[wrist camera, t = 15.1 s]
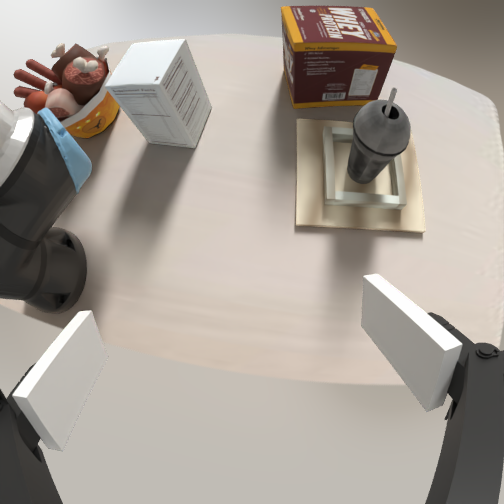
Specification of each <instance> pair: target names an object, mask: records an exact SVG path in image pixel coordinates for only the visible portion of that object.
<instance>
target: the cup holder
mask: <svg viewBox="0 0 504 504" xmlns="http://www.w3.org/2000/svg"><path fill="white" fill-rule="evenodd" d="M352 140H353V122H344V121H332V120H317V119H297V191H296V226H309V227H331V228H350V229H368V230H385V231H401V232H415V233H424V232H425V231H426V230H425V218H424V208H423V198H422V190H421V183H420V176H419V169H418V163H417V157H416V151H415V146H414V141H413V136H412V131H411V132H410V139H409V143H408V145H407V148H406V150H404V151H403V152H402V153H401V154H399V155H398V156H396V157H395V158H394V159H392V160H391V161H390V163H389V164H388V165H387V166H386V167H385V168H384V169H383V170H382V171H381V172H380V173H379V175H378V176H377V177H376V178H374V179H373V180H372V181H371V182H370V183H367V184H360V183H357V182H355V181H353V180H352V179H351V178H350V176H349V174H348V171H347V166H348V159H349V154H350V150H351V145H352Z"/></svg>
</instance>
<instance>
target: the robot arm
mask: <svg viewBox="0 0 504 504" xmlns="http://www.w3.org/2000/svg"><path fill="white" fill-rule="evenodd" d="M91 171H92V163H91V161H90V159H89V158H88V156H87V155H86V154H85V152H84V151H83V150H82V149H81V147H80V146H79V145H78V144H77V142H76V141H75V140H74V139H73V137H72V136H71V135H70V134H69V133H68V132H67V131H66V129H65V128H64V127H63V125H62V124H61V123H60V122H59V120H58V119H57V118H56V117H55V115H54V114H53V113H52V112H51V111H50V110H49V109H48V108H43V109H42V110H40V111H38V113H37V114H35V113H34V112H33V111H32V110H31V109H30V108H26V107H25V108H20V109H17V110H13V111H12V110H10V109H9V108H8V107H7V106H6V105H5V104H3V103H2V102H1V101H0V298H3V299H14V300H23V301H25V302H26V303H28V304H30V305H31V306H33V307H35V308H37V309H38V310H40V311H42V312H46V313H62V312H64V311H66V310H68V309H69V308H71V307H72V306H73V305H74V304H75V302H76V301H77V300H78V298H79V296H80V294H81V292H82V290H83V287H84V283H85V279H86V268H87V267H86V256H85V252H84V249H83V246H82V244H81V242H80V241H79V239H78V238H77V237H76V236H75V235H74V234H73V233H71V232H69V231H67V230H64V229H62V228H57V227H52V225H53V224H54V223H55V221H56V220H57V219H58V217H59V216H60V214H61V213H62V212H63V210H64V209H65V208H66V207H67V205H68V204H69V203H70V201H71V200H72V199H73V198H74V196H75V195H76V194H78V192H79V189H80V188H81V186H82V185H83V184H84V182H85V181H86V180H87V178H88V177H89V176H90V174H91ZM361 326H362V328H363V329H364V330H365V331H366V333H367V334H368V335H369V337H370V338H371V339H372V340H373V342H374V343H375V344H376V346H377V347H378V348H379V349H380V351H381V352H382V353H383V355H384V356H385V357H386V358H387V360H388V361H389V362H390V364H391V365H392V366H393V368H394V369H395V370H396V372H397V373H398V374H399V375H400V377H401V378H402V379H403V381H404V382H405V383H406V385H407V386H408V387H409V389H410V390H411V391H412V393H413V394H414V395H415V397H416V398H417V400H418V401H419V402H420V404H421V405H422V406H423V408H424V409H425V410H426V412H428V411H431V410H433V409H435V408H437V407H439V406H442V405H443V404H444V401H445V399H446V396H447V393H448V394H449V395H450V396H451V397H452V399H453V400H452V402H451V405H450V408H449V410H448V412H447V415H446V417H445V420H447V419H448V421H447V427H446V431H445V436H444V441H443V445H442V449H441V453H440V457H439V461H438V465H437V468H436V472H435V475H434V479H433V482H432V485H431V488H430V491H429V494H428V497H427V500H426V503H425V504H498V499H499V493H500V487H501V479H502V471H503V460H504V351H500V350H499V349H498V348H497V347H495V346H493V345H492V344H488V343H477V344H474V343H473V342H472V341H470V340H469V339H468V338H467V337H466V336H465V335H463V334H462V333H461V332H460V331H458V330H457V329H455V327H454V326H452V325H451V324H449V322H448V321H446V320H445V319H444V318H443V317H441V316H439V315H436V314H434V313H432V312H431V313H426V312H425V311H423V310H422V309H421V308H420V307H418V306H417V305H416V304H415V303H414V302H412V301H411V300H410V299H409V298H407V297H406V296H405V295H404V294H402V293H401V292H400V291H399V290H397V289H396V288H395V287H394V286H392V285H391V284H390V283H389V282H387V281H386V280H385V279H384V278H382V277H381V276H380V275H378V274H371V275H366V276H363V298H362V319H361ZM107 359H108V354H107V352H106V349H105V347H104V344H103V341H102V338H101V336H100V333H99V330H98V327H97V324H96V321H95V319H94V316H93V312H92V310H90V311H79V312H78V313H77V315H76V316H75V317H74V318H73V319H72V320H71V321H70V323H69V324H68V325H67V326H66V327H65V328H64V330H63V331H62V332H61V333H60V334H59V336H58V337H57V338H56V339H55V341H54V342H53V343H52V344H51V345H50V347H49V348H48V349H47V350H46V351H45V353H44V354H43V355H42V356H41V358H40V359H39V360H38V362H37V363H35V364H34V365H32V366H31V367H30V368H29V369H28V371H27V372H26V373H25V376H23V377H22V378H21V380H20V382H18V384H17V385H16V387H15V388H14V389H13V390H12V392H11V393H10V394H9V396H8V397H7V399H6V398H5V396H4V394H3V393H2V391H1V389H0V504H63V503H62V501H61V498H60V496H59V494H58V491H57V489H56V487H55V485H54V482H53V479H52V477H51V474H50V472H49V469H48V466H47V464H46V461H45V459H44V455H43V452H42V450H41V448H40V447H39V446H38V442H39V440H40V438H41V440H42V441H43V442H44V444H45V445H46V446H47V447H48V448H49V449H54V450H58V451H63V450H64V448H65V446H66V443H67V441H68V439H69V436H70V434H71V432H72V430H73V428H74V426H75V423H76V421H77V419H78V417H79V415H80V413H81V411H82V408H83V406H84V404H85V402H86V400H87V398H88V396H89V394H90V392H91V390H92V388H93V386H94V384H95V382H96V380H97V378H98V376H99V374H100V372H101V370H102V368H103V367H104V365H105V363H106V361H107Z"/></svg>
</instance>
